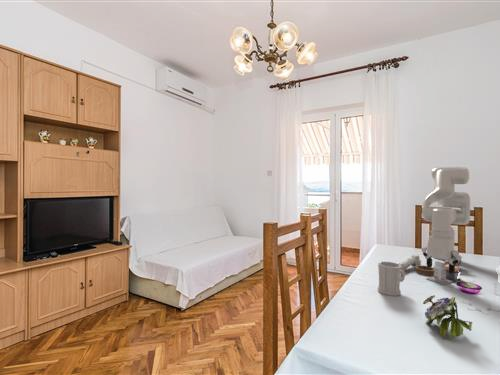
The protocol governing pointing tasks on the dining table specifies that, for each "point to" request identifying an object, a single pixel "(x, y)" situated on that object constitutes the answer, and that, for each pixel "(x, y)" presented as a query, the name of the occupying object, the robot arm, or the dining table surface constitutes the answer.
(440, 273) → the pill bottle
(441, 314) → the passion flower
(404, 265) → the white electric toothbrush
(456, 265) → the pipe fitting
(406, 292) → the dining table surface
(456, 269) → the orange square block
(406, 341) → the dining table surface
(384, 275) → the cup
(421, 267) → the sleeve
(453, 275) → the block
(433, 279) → the mat
